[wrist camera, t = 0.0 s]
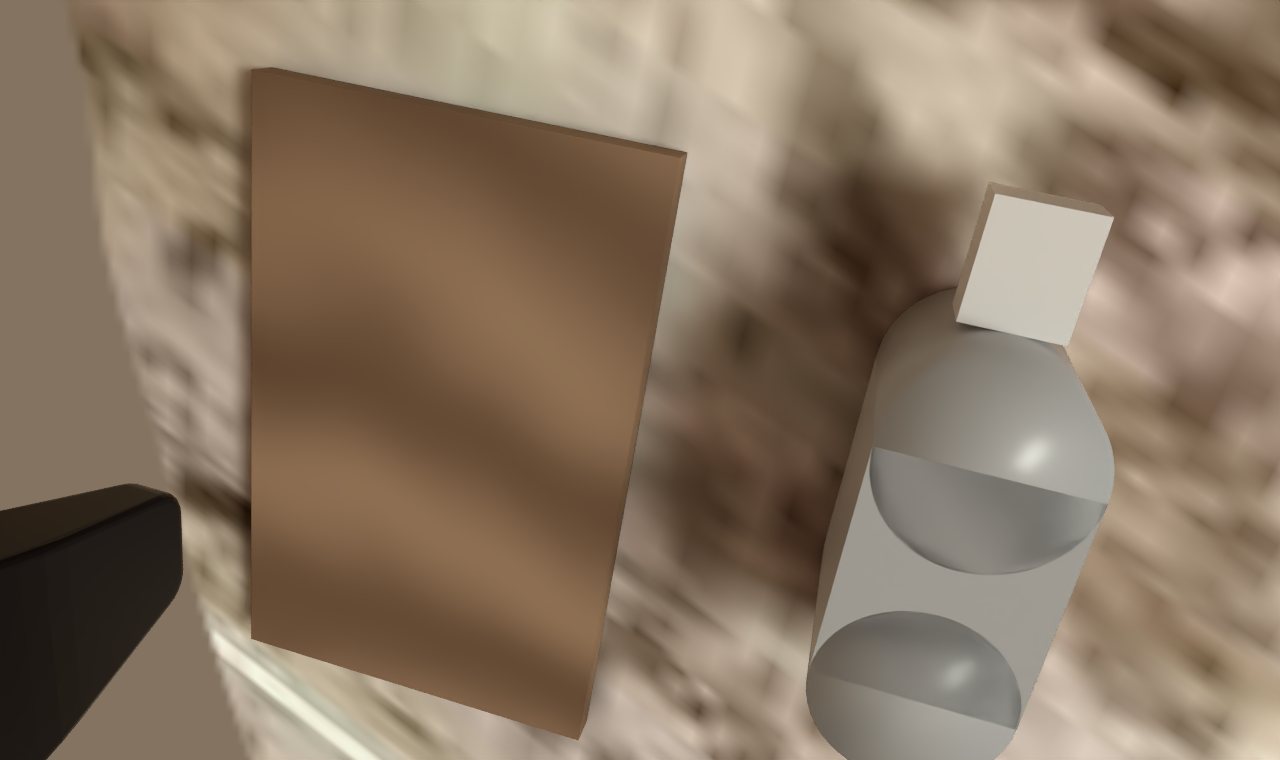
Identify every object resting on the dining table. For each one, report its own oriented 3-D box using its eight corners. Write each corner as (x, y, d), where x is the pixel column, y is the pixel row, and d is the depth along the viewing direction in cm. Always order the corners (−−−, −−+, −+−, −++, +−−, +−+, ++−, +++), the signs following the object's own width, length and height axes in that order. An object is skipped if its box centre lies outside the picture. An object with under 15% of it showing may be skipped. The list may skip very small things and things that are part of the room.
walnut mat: (586, 720, 27) (578, 740, 27) (267, 622, 29) (251, 638, 28) (687, 152, 21) (680, 158, 20) (272, 67, 23) (251, 69, 22)
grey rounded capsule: (967, 653, 24) (985, 806, 19) (806, 609, 24) (786, 747, 20) (1134, 197, 19) (1207, 256, 15) (931, 156, 20) (942, 201, 15)
